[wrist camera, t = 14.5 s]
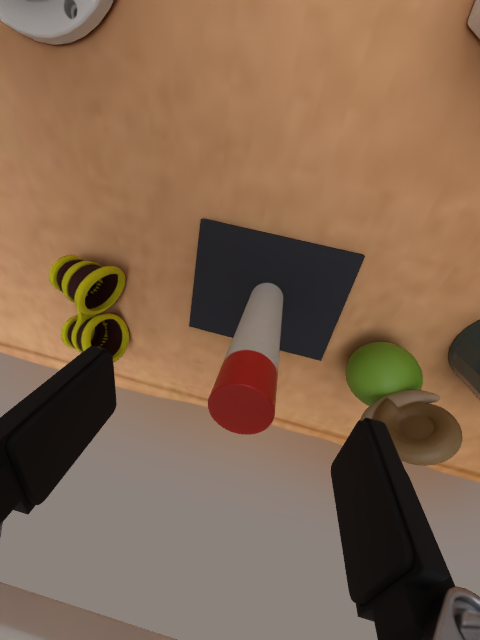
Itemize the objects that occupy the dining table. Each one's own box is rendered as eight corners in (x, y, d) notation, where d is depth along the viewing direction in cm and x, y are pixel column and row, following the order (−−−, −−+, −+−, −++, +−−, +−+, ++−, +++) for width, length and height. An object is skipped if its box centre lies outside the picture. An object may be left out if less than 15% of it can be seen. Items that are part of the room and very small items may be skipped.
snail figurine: (320, 349, 24) (345, 474, 13) (392, 320, 21) (494, 444, 11) (345, 390, 25) (384, 532, 15) (414, 367, 23) (523, 518, 12)
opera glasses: (87, 249, 24) (32, 258, 20) (131, 262, 23) (82, 274, 19) (98, 334, 29) (55, 356, 25) (135, 349, 27) (96, 375, 23)
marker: (248, 308, 23) (203, 424, 11) (254, 279, 21) (212, 376, 10) (278, 316, 22) (265, 442, 11) (287, 286, 21) (282, 395, 10)
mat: (190, 324, 25) (189, 326, 25) (202, 218, 20) (200, 218, 20) (320, 357, 24) (320, 361, 24) (363, 254, 19) (365, 256, 19)
